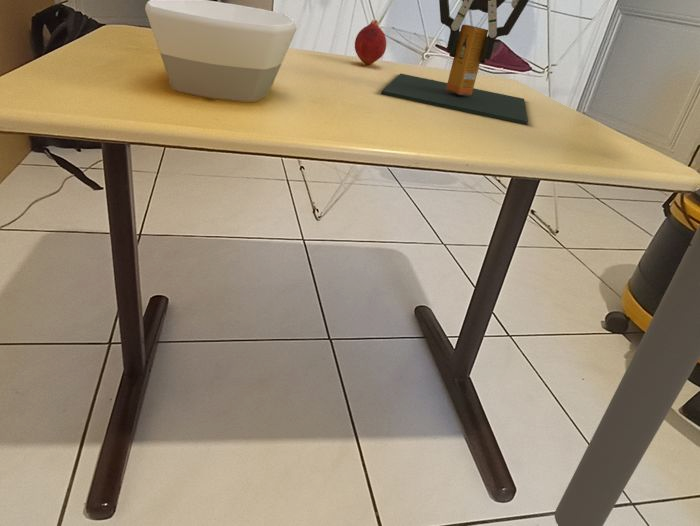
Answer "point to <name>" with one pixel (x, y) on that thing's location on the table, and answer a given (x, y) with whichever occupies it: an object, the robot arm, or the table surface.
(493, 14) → the robot arm
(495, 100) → the mat
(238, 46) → the bowl
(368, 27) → the onion
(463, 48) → the supplement box
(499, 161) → the table surface
